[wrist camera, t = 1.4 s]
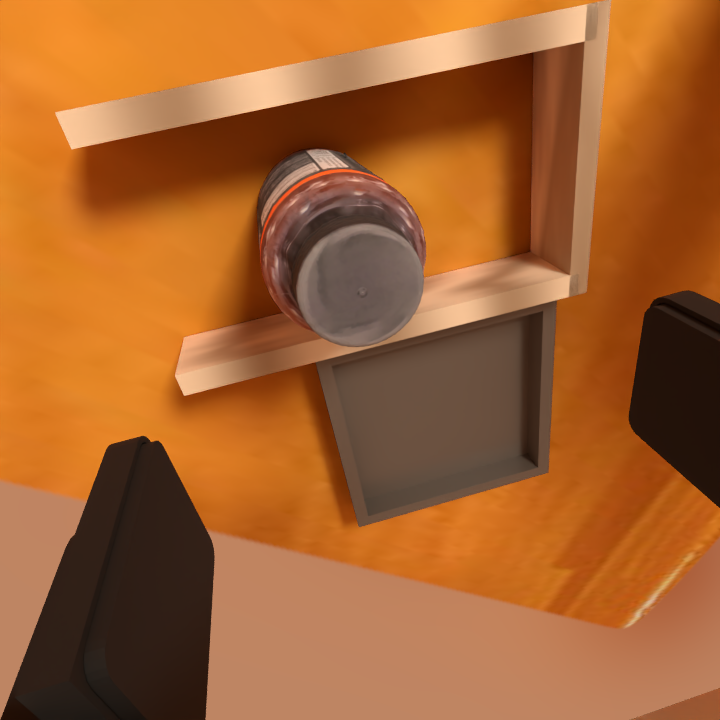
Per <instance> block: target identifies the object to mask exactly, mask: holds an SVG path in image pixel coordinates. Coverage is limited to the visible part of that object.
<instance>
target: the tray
mask: <svg viewBox="0 0 720 720" xmlns="http://www.w3.org/2000/svg"><path fill="white" fill-rule="evenodd" d="M556 304H557V300H555V301H551V302H547V303H543V304H540V305H536V306H532V307H528V308H524V309H520V310H516V311H512V312H508V313H505V314H501V315H497V316H493V317H489V318H485V319H481V320H477V321H474V322H470V323H466V324H462V325H458V326H454V327H450V328H446V329H442V330H439V331H435V332H431V333H427V334H423V335H419V336H415V337H411V338H407V339H404V340H400V341H396V342H392V343H388V344H384V345H380V346H376V347H372V348H369V349H365V350H361V351H357V352H353V353H349V354H345V355H341V356H337V357H334V358H330V359H326V360H322V361H318V362H315V363H316V366H317V370H318V374H319V378H320V382H321V385H322V389H323V393H324V397H325V401H326V404H327V408H328V412H329V416H330V420H331V423H332V427H333V431H334V435H335V438H336V442H337V446H338V450H339V454H340V457H341V461H342V465H343V469H344V473H345V476H346V480H347V484H348V488H349V492H350V495H351V499H352V503H353V507H354V510H355V514H356V518H357V522H358V526H359V527H361V526H365V525H368V524H372V523H375V522H379V521H382V520H386V519H389V518H393V517H396V516H400V515H403V514H407V513H410V512H413V511H417V510H420V509H424V508H427V507H431V506H434V505H438V504H441V503H445V502H448V501H452V500H455V499H458V498H462V497H465V496H469V495H472V494H476V493H479V492H483V491H486V490H490V489H493V488H497V487H500V486H503V485H507V484H510V483H514V482H517V481H521V480H524V479H528V478H531V477H535V476H538V475H542V474H545V473H548V469H549V449H550V428H551V407H552V387H553V366H554V345H555V325H556Z"/></svg>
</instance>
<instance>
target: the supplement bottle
mask: <svg viewBox="0 0 720 720" xmlns="http://www.w3.org/2000/svg"><path fill="white" fill-rule="evenodd" d="M257 220H258V237H259V250H260V262H261V270H262V274H263V279H264V282H265V284H266V287H267V289H268V291H269V293H270V295H271V297H272V299H273V300H274V302H275V303H276V305H277V306H278V307H279V309H280V310H281V311H282V312H283V313H284V314H285V315H286V316H287V317H288V318H289V319H290V320H292V321H293V322H294V323H296V324H297V325H299V326H301V327H303V328H305V329H306V330H309V331H311V332H313V333H316V334H318V335H319V336H320V337H322V338H323V339H325V340H327V341H329V342H331V343H334V344H337V345H340V346H347V347H365V346H370V345H374V344H378V343H380V342H382V341H384V340H386V339H388V338H390V337H392V336H393V335H395V334H396V333H397V332H399V331H400V330H401V329H402V328H403V327H404V326H405V325H406V324H407V323H408V322H409V321H410V320H411V318H412V316H413V315H414V314H415V312H416V310H417V309H418V306H419V304H420V301H421V297H422V294H423V286H424V275H423V271H424V266H425V260H426V242H425V237H424V231H423V229H422V226H421V224H420V221H419V219H418V216H417V215H416V213H415V212H414V210H413V208H412V206H411V205H410V204H409V203H408V202H407V200H406V198H405V197H403V196H402V195H401V194H400V193H399V192H398V191H397V190H396V189H394V188H393V187H391V186H390V185H389V184H387V183H386V182H385V181H384V180H383V179H381V178H380V177H378V176H377V175H375V174H373V173H372V172H371V171H369V170H367V169H366V168H364V167H363V166H362V165H360V164H359V163H357V162H356V161H355V160H353V159H352V158H350V157H349V156H347V155H346V154H345V153H344V154H342V153H340V152H338V151H333V150H330V149H322V148H311V149H304V150H301V151H297V152H295V153H292V154H290V155H288V156H287V157H286V158H284V159H283V160H281V161H280V162H279V163H278V164H277V165H275V166H274V168H273V169H272V170H271V171H270V173H269V174H268V176H267V177H266V179H265V181H264V183H263V186H262V188H261V189H260V193H259V199H258V206H257Z"/></svg>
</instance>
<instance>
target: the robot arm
mask: <svg viewBox="0 0 720 720" xmlns="http://www.w3.org/2000/svg"><path fill="white" fill-rule="evenodd" d="M629 422H630V425H631V428H632V429H633V431H634V432H635V433H636V434H637V435H638V436H639V437H640V438H641V439H642V440H643V441H645V442H646V443H647V444H648V445H649V446H650V447H651V448H652V449H654V450H655V451H656V452H657V453H658V454H659V455H660V456H661V457H663V458H664V459H665V460H666V461H667V462H668V463H669V464H671V465H672V466H673V467H674V468H675V469H676V470H677V471H678V472H680V473H681V474H682V475H683V476H684V477H685V478H686V479H687V480H689V481H690V482H691V483H692V484H693V485H694V486H695V487H697V488H698V489H699V490H700V491H701V492H702V493H703V494H704V495H706V496H707V497H708V498H709V499H710V500H711V501H712V502H714V503H715V504H716V505H717V506H718V507H719V508H720V304H719V303H717V302H715V301H713V300H711V299H708V298H706V297H704V296H702V295H700V294H697V293H695V292H692V291H689V290H688V291H682V292H678V293H674V294H670V295H667V296H663V297H659V298H657V299H655V300H654V301H653V302H652V304H651V306H650V308H649V309H647V311H646V312H645V315H644V320H643V326H642V333H641V339H640V346H639V352H638V359H637V365H636V372H635V378H634V385H633V391H632V398H631V404H630V411H629ZM213 576H214V548H213V544H212V541H211V538H210V536H209V534H208V532H207V530H206V528H205V526H204V524H203V522H202V521H201V519H200V517H199V515H198V513H197V511H196V509H195V507H194V505H193V503H192V501H191V499H190V497H189V495H188V493H187V492H186V490H185V488H184V486H183V484H182V482H181V480H180V478H179V476H178V474H177V472H176V470H175V468H174V466H173V464H172V462H171V461H170V459H169V457H168V455H167V453H166V451H165V449H164V447H163V445H162V444H161V443H160V442H159V441H154V442H150V440H149V439H148V438H147V437H145V436H140V437H137V438H133V439H129V440H125V441H122V442H118V443H114V444H111V445H109V446H108V448H107V449H106V452H105V454H104V457H103V460H102V463H101V465H100V468H99V471H98V473H97V476H96V479H95V481H94V484H93V487H92V490H91V492H90V495H89V498H88V500H87V503H86V506H85V509H84V511H83V514H82V517H81V519H80V522H79V525H78V527H77V530H76V533H75V535H74V536H73V537H72V538H71V539H70V541H69V543H68V544H67V546H66V548H65V551H64V554H63V556H62V559H61V562H60V564H59V567H58V569H57V572H56V575H55V577H54V580H53V583H52V585H51V588H50V591H49V593H48V596H47V598H46V602H45V604H44V606H43V609H42V612H41V615H40V617H39V620H38V623H37V625H36V628H35V630H34V633H33V635H32V638H31V641H30V643H29V646H28V649H27V652H26V654H25V657H24V659H23V662H22V665H21V667H20V670H19V672H18V675H17V678H16V680H15V683H14V686H13V688H12V691H11V693H10V696H9V699H8V701H7V704H6V707H5V709H4V712H3V715H2V717H1V720H205V717H206V700H207V699H206V698H207V682H208V664H209V647H210V628H211V610H212V593H213ZM631 720H720V688H719V689H716V690H713V691H710V692H707V693H704V694H702V695H699V696H696V697H693V698H690V699H687V700H685V701H682V702H679V703H676V704H674V705H671V706H668V707H665V708H662V709H660V710H657V711H654V712H651V713H648V714H645V715H643V716H640V717H637V718H634V719H631Z"/></svg>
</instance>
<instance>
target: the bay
mask: <svg viewBox="0 0 720 720" xmlns="http://www.w3.org/2000/svg"><path fill="white" fill-rule="evenodd" d="M610 7H611V0H606V1H601V2H596V3H591V4H586V5H581V6H576V7H571V8H566V9H561V10H557V11H552V12H547V13H542V14H537V15H532V16H527V17H522V18H517V19H512V20H507V21H503V22H498V23H493V24H488V25H483V26H478V27H473V28H468V29H463V30H458V31H453V32H448V33H444V34H439V35H434V36H429V37H424V38H419V39H414V40H409V41H404V42H399V43H394V44H390V45H385V46H380V47H375V48H370V49H365V50H360V51H355V52H350V53H345V54H340V55H335V56H331V57H326V58H321V59H316V60H311V61H306V62H301V63H296V64H291V65H286V66H281V67H276V68H272V69H267V70H262V71H257V72H252V73H247V74H242V75H237V76H232V77H227V78H222V79H218V80H213V81H208V82H203V83H198V84H193V85H188V86H183V87H178V88H173V89H168V90H163V91H159V92H154V93H149V94H144V95H139V96H134V97H129V98H124V99H119V100H114V101H109V102H105V103H100V104H95V105H90V106H85V107H80V108H75V109H70V110H65V111H60V112H55V114H56V116H57V118H58V120H59V122H60V125H61V127H62V129H63V131H64V133H65V136H66V138H67V140H68V142H69V144H70V147H71V149H75V148H80V147H85V146H90V145H94V144H99V143H104V142H109V141H113V140H118V139H123V138H128V137H132V136H137V135H142V134H147V133H151V132H156V131H161V130H166V129H170V128H175V127H180V126H185V125H189V124H194V123H199V122H204V121H208V120H213V119H218V118H223V117H228V116H232V115H237V114H242V113H247V112H251V111H256V110H261V109H266V108H270V107H275V106H280V105H285V104H289V103H294V102H299V101H304V100H308V99H313V98H318V97H323V96H327V95H332V94H337V93H342V92H346V91H351V90H356V89H361V88H365V87H370V86H375V85H380V84H384V83H389V82H394V81H399V80H403V79H408V78H413V77H418V76H422V75H427V74H432V73H437V72H441V71H446V70H451V69H456V68H460V67H465V66H470V65H475V64H479V63H484V62H489V61H494V60H499V59H503V58H508V57H513V56H518V55H522V54H527V53H532V52H533V116H532V180H531V245H530V252H527V253H523V254H519V255H515V256H511V257H507V258H503V259H499V260H495V261H491V262H487V263H483V264H478V265H474V266H470V267H466V268H462V269H458V270H454V271H450V272H446V273H442V274H438V275H434V276H430V277H426V278H424V286H423V294H422V297H421V301H420V304H419V306H418V309H417V310H416V312H415V314H414V315H413V316H412V318H411V320H410V321H409V322H408V323H407V324H406V325H405V326H404V327H403V328H402V329H401V330H400V331H399V332H397V333H396V334H395V335H393V336H392V337H390V338H388V339H386V340H384V341H382V342H380V343H378V344H374V345H370V346H365V347H347V346H340V345H337V344H334V343H331V342H329V341H327V340H325V339H323V338H322V337H320V336H319V335H318V334H316V333H313V332H311V331H309V330H306V329H305V328H303V327H301V326H299V325H297V324H296V323H294V322H293V321H292V320H290V319H289V318H288V317H287V316H286V315H285V314H284V313H280V314H276V315H272V316H268V317H264V318H260V319H256V320H252V321H248V322H244V323H240V324H236V325H232V326H227V327H223V328H219V329H215V330H211V331H207V332H203V333H199V334H195V335H191V336H187V337H184V340H183V344H182V348H181V353H180V357H179V361H178V365H177V369H176V373H175V377H176V379H177V381H178V383H179V386H180V388H181V390H182V392H183V394H184V396H186V395H190V394H194V393H197V392H201V391H205V390H209V389H213V388H217V387H221V386H225V385H229V384H232V383H236V382H240V381H244V380H248V379H252V378H256V377H260V376H264V375H267V374H271V373H275V372H279V371H283V370H287V369H291V368H295V367H299V366H302V365H306V364H310V363H314V362H318V361H322V360H326V359H330V358H334V357H337V356H341V355H345V354H349V353H353V352H357V351H361V350H365V349H369V348H372V347H376V346H380V345H384V344H388V343H392V342H396V341H400V340H404V339H407V338H411V337H415V336H419V335H423V334H427V333H431V332H435V331H439V330H442V329H446V328H450V327H454V326H458V325H462V324H466V323H470V322H474V321H477V320H481V319H485V318H489V317H493V316H497V315H501V314H505V313H508V312H512V311H516V310H520V309H524V308H528V307H532V306H536V305H540V304H543V303H547V302H551V301H555V300H559V299H563V298H567V297H571V296H575V295H578V294H582V293H586V292H587V282H588V270H589V258H590V246H591V234H592V222H593V210H594V198H595V186H596V174H597V162H598V150H599V138H600V127H601V115H602V103H603V91H604V79H605V67H606V55H607V43H608V31H609V19H610Z"/></svg>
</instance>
